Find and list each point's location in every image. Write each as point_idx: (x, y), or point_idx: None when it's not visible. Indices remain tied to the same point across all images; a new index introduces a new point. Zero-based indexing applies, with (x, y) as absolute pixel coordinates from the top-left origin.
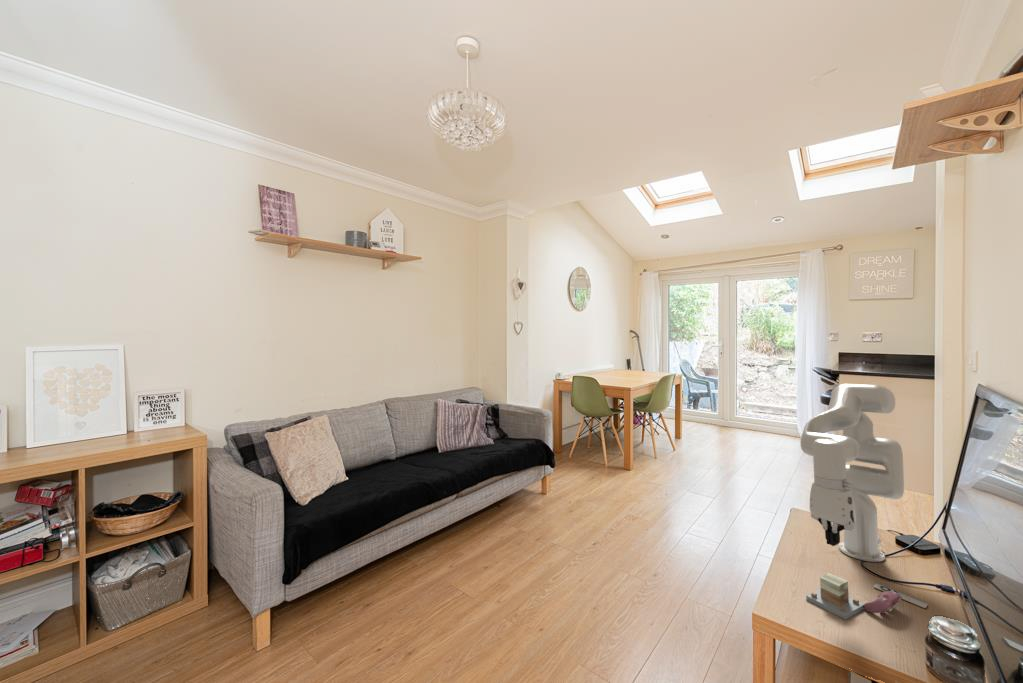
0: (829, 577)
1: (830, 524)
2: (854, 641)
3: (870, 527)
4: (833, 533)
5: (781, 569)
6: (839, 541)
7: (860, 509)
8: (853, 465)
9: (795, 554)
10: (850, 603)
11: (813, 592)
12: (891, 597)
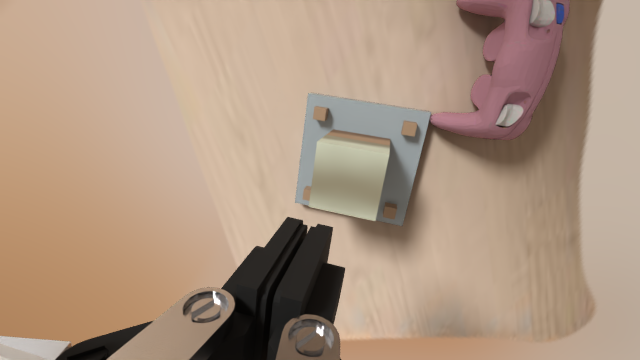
0: (330, 180)
1: (204, 351)
2: (440, 300)
3: None
4: None
5: (178, 72)
6: (343, 274)
7: None
8: None
9: None
10: (396, 145)
11: (305, 191)
12: (539, 89)
